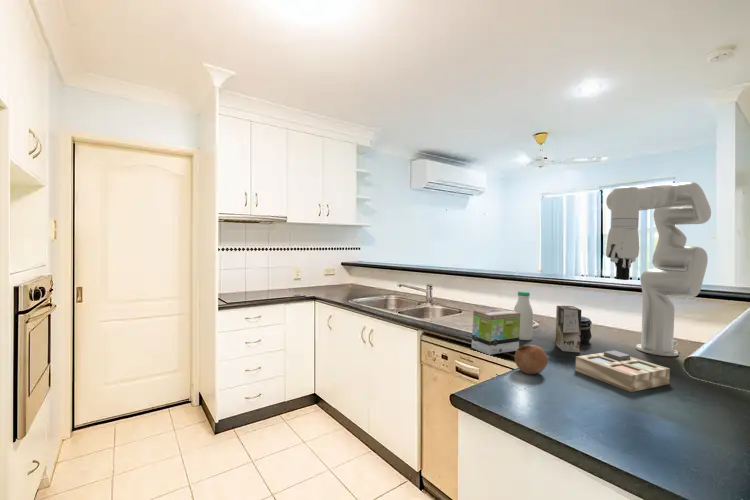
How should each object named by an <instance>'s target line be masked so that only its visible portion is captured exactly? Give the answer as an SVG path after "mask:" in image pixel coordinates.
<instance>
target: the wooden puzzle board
mask: <svg viewBox="0 0 750 500" xmlns="http://www.w3.org/2000/svg"><path fill="white" fill-rule="evenodd" d="M594 358H600V359H603V360H607V361H610V362H611V363H605V364H602V363H599V362H596V361H594V360H591V359H594ZM635 363H640V364H643V365H647V366H650V367H653V368H651V369H643V368H640V367H637V366H634V365H631V364H635ZM617 366H625V367H628V368H631V369H634V370H637V371H635V372H626V371H623V370H620V369H617V368H614V367H617ZM670 369H671V368H669V367H666V366H662V365H659V364H656V363H652V362H648V361H646V360H643V359H639V358H636V357H633V356H630V360H623V361H618V360H615V359H612V358H609V357H606V356H604V352H599V353H590V354H585V355H578V356H575V371H576V372H578V373H580V374H583V375H586V376H588V377H591V378H593V379H596V380H598V381H601V382H604V383H606V384H608V385H611V386H613V387H616V388H618V389H621V390H624V391H627V392H630V393H634V392H637V391H642V390H643V391H644V390H647V389H651V388H652V389H653V388H657V387H661V386H665V385H670V374H671V373H670Z"/></svg>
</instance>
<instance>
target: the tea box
mask: <svg viewBox="0 0 750 500" xmlns="http://www.w3.org/2000/svg"><path fill="white" fill-rule="evenodd" d="M471 332H472V333H471V348H472V349H473V350H476V351H479V352H481V353H483V354H486V355H488V356H492V355H496V354H503V353H510V352H516V351H517V349H518V348H520V340H519V332H520V313H518V312H514V310H509V309H506V308H502V307H500V308H490V309H475V310H473V316H472V331H471Z"/></svg>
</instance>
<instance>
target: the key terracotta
mask: <svg viewBox="0 0 750 500" xmlns="http://www.w3.org/2000/svg"><path fill="white" fill-rule="evenodd" d="M614 368H617V369H620V370H623V371H626V372H635V371H637V370H634V369H631V368H628V367H625V366H617V367H614Z"/></svg>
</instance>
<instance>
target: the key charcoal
mask: <svg viewBox="0 0 750 500" xmlns="http://www.w3.org/2000/svg"><path fill="white" fill-rule="evenodd" d="M603 353H604V356H606V357H609V358H612V359H615V360H618V361H623V360H630V357H631V354H627V353H624V352H621V351H619V350H618V351H617V350H615V349H613V350H608V351H604V352H603Z"/></svg>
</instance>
